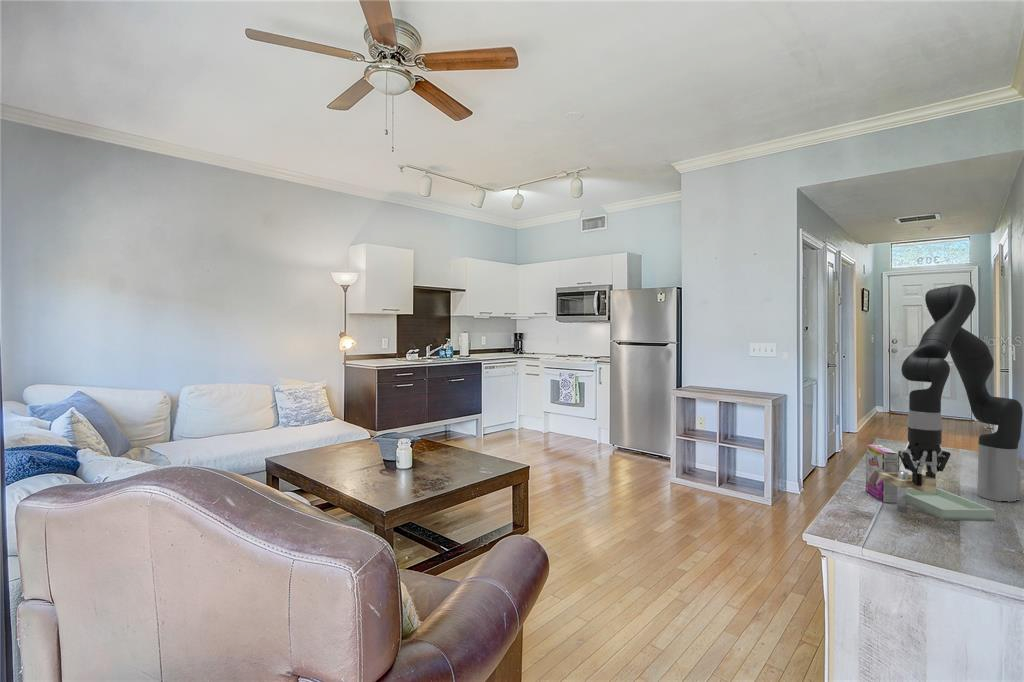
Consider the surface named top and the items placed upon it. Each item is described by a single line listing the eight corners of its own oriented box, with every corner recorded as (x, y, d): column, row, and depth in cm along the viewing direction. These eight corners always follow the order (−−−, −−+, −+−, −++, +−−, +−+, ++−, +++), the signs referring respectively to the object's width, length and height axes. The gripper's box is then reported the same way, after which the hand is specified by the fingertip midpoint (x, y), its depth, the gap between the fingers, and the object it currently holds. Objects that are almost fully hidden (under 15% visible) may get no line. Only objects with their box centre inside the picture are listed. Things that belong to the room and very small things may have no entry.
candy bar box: (864, 491, 168) (865, 444, 168) (880, 492, 167) (881, 444, 167) (881, 503, 157) (883, 452, 157) (899, 504, 156) (900, 453, 156)
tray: (936, 496, 163) (937, 487, 163) (995, 520, 143) (995, 510, 143) (891, 496, 163) (891, 487, 163) (942, 519, 143) (943, 509, 143)
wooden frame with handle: (879, 478, 154) (878, 466, 154) (907, 478, 154) (907, 466, 154) (914, 493, 140) (914, 479, 140) (946, 493, 140) (946, 479, 140)
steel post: (902, 509, 152) (903, 470, 151) (908, 512, 149) (909, 473, 149) (894, 509, 152) (895, 470, 151) (900, 512, 149) (901, 473, 149)
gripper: (937, 423, 146) (937, 481, 146) (890, 424, 146) (889, 481, 146) (960, 429, 138) (959, 489, 139) (910, 429, 138) (909, 490, 139)
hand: (923, 485), depth 143 cm, fingers closed on wooden frame with handle, 3 cm apart
